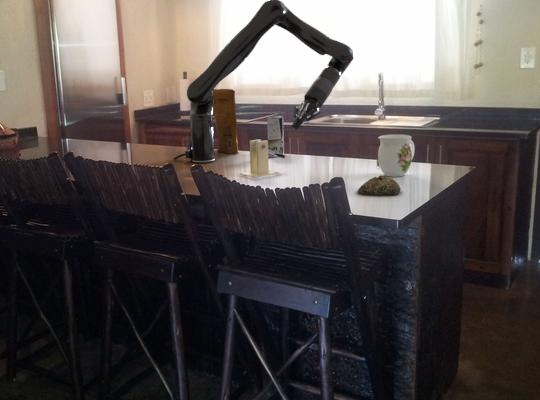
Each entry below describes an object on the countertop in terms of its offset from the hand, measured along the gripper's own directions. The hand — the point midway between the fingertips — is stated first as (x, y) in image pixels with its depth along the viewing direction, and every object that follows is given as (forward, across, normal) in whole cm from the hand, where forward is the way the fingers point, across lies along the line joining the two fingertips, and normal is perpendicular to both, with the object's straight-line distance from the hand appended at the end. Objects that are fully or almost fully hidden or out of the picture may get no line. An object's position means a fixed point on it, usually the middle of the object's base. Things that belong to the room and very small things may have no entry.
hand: (294, 128), depth 234 cm
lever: (+14, 0, -4) cm, 15 cm away
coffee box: (+1, -29, +21) cm, 36 cm away
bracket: (+22, 0, -1) cm, 22 cm away
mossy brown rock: (+14, +46, +8) cm, 48 cm away
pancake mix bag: (+8, -52, +14) cm, 54 cm away
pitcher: (-2, +32, +24) cm, 40 cm away
